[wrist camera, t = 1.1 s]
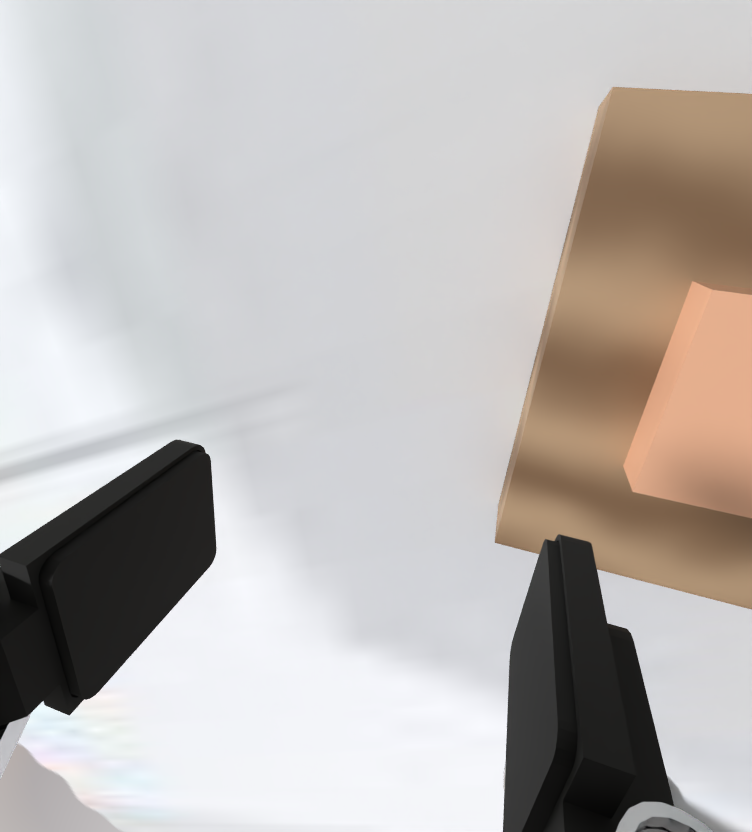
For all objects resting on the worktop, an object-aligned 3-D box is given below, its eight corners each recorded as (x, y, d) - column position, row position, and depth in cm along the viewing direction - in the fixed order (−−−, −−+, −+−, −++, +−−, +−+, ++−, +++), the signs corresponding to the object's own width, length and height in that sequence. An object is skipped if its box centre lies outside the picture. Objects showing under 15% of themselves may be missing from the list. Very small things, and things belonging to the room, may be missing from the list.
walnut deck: (738, 562, 28) (769, 614, 24) (498, 504, 31) (494, 542, 27) (979, 129, 18) (1086, 110, 15) (598, 106, 21) (612, 87, 18)
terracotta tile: (759, 495, 22) (784, 525, 20) (622, 466, 23) (632, 491, 21) (862, 303, 18) (907, 315, 16) (692, 281, 20) (712, 289, 17)
